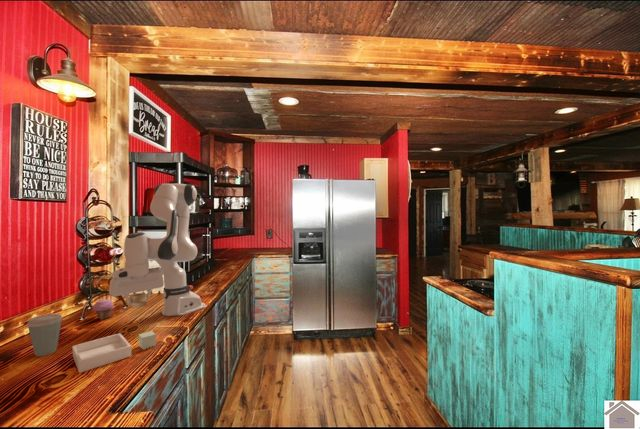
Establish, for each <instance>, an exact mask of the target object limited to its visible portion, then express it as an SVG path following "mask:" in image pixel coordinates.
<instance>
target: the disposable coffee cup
mask: <svg viewBox="0 0 640 429" xmlns="http://www.w3.org/2000/svg"><path fill="white" fill-rule="evenodd" d="M28 320H29V321H27V325H26V326H27V327H28V332H29V335H30V340H31V345H32V348H33V352H34V353H33V354H34V355H35V356H36V357H44V356H48V355H51V354H53V353H55V352H57V349H58V343H59V337H60V330H61V326H62V320H63V316H62V315H61V314H58V313H50V314H43V315H37V316H34V317H31V318H29V319H28Z"/></svg>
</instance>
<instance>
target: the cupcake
mask: <svg viewBox="0 0 640 429" xmlns="http://www.w3.org/2000/svg"><path fill="white" fill-rule="evenodd" d="M114 305H115V304H114V302H113V300H111V299H109V298H108V299H107V298H106V299H99V300H98V301H96V302H95V303H94V305H93V307H92V309H93V311H95V312H96V316H97V319H99V320H105V319H107V318H108V319H110V317H112V316H111V315H112V309H113V308H114Z"/></svg>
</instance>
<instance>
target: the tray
mask: <svg viewBox="0 0 640 429" xmlns="http://www.w3.org/2000/svg"><path fill="white" fill-rule="evenodd" d="M72 357H73V360H74V363H75V366H76V368H77V370H78V373H83V372H84V373H85V372H87V371H90V370H92V369H96V368H99V367H102V366H105V365H108V364H111V363H114V362H117V361H120V360H124V359H126V358H130V357H132V345H131V344H130V343H129V341H128V340H127V339H126V338H125V337H124V336H123V334H122V333H121V332H120V333H116V334H112V335H108V336H104V337H101V338H97V339H93V340H90V341H85V342H82V343H78V344H75V345H72Z"/></svg>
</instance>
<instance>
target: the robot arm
mask: <svg viewBox="0 0 640 429" xmlns="http://www.w3.org/2000/svg"><path fill="white" fill-rule="evenodd" d="M197 195H198V192H197V188H196V187H195V185H193V184H190V183H186V184H185V183H159V184H157V185H156V186H155V188H154V190H153V197H152V200H151V202H150V206H149V209H150V210H149V211H150V213H151V215H153V217H155V218H156V219H158V220H160V221H164V222H165V223H166V236H164V237H162V238H159V237H157V238H151V237H148V236H147V234H146V233H145V232H142V231H141V232H140V231H139V232H132V233H129V234H127V235H126V236H125V237H124V238H125V239H124V245H123V248H124V249H123V251H124V257H125V258H124V259H125V261H124V262H125V263H124V267H122V268H119V269H116V270H114V271H113V272H112V273H111V276H112V278H111V280H110V282H109V288H108V289H109V290H108V292H109V295H110V296H111V297H114V298H115V297H119V296H123V297H124V298H125V299H126V301H127V302H126V303H127V305H130V304H132V299H130V295H131V294H136V293H141V292H145V291H146V292H147V294H146V297H147V301H149V300H150V295H151V293H152V291H153V290H155V289H161V288H163V300H164V302H163V307H162V311H161V312H162V313H161V314H162V316H166V317H167V316H168V317H170V316H171V317H172V316H185V315H188V314H191V313H194V312H197V311H199V310H203V309H205V308H206V306H207V305H206V303H204V302H202V299H201V296H200V295H198V294H197V293H195V292H193V291H192V290H193V289H194V286H193V285H190V284H187V273H186V270H185V269H184V268H182V267H180V265H179V263H186V262H191V261H193V260H195V259H196V257H197V255H198V247H197V245H196V244H195V243H194V242H192V240H191V238H190V235H189V225H190V212H191V211H190V210H191V209H190V206H191V205H192V204H193V203H194V202H195V201H196V200H197V197H198V196H197ZM149 260H154V261H155V262H156V263H157V264H158V265H159V266H158V267H157V266H156V267H151V268H150V265H149Z"/></svg>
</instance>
